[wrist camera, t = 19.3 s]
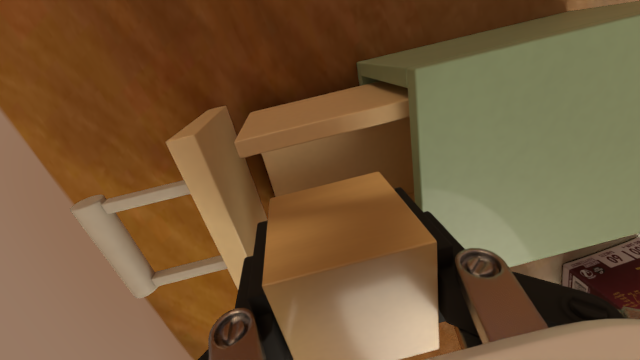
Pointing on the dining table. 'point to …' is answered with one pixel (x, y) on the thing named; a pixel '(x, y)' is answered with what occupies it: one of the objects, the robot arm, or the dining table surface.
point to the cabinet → (527, 131)
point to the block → (351, 273)
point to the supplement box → (608, 275)
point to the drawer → (282, 166)
